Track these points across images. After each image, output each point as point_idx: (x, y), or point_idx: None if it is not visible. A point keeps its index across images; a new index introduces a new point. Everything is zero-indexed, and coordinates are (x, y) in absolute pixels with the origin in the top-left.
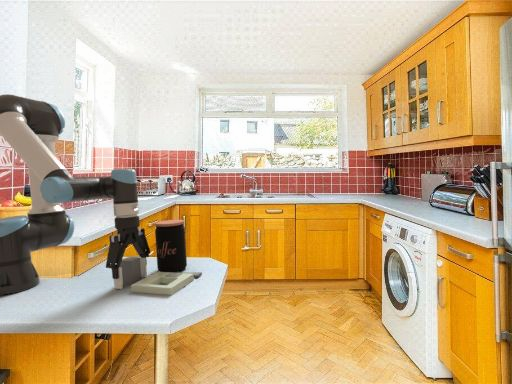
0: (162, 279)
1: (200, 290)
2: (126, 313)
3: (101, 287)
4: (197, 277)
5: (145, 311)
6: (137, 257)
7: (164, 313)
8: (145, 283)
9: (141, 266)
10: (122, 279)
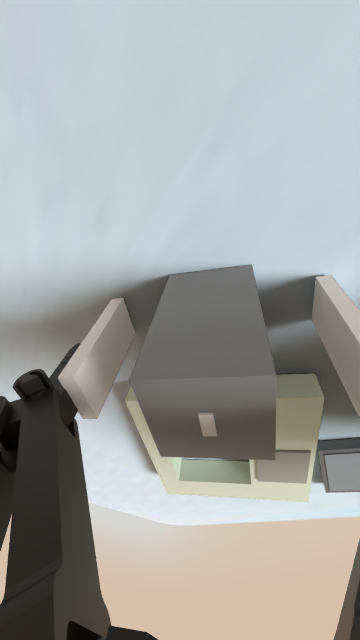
0: None
1: (223, 504)
2: None
3: (85, 200)
4: (323, 483)
5: None
6: (264, 450)
7: (95, 489)
8: None
9: (335, 339)
10: (122, 361)
